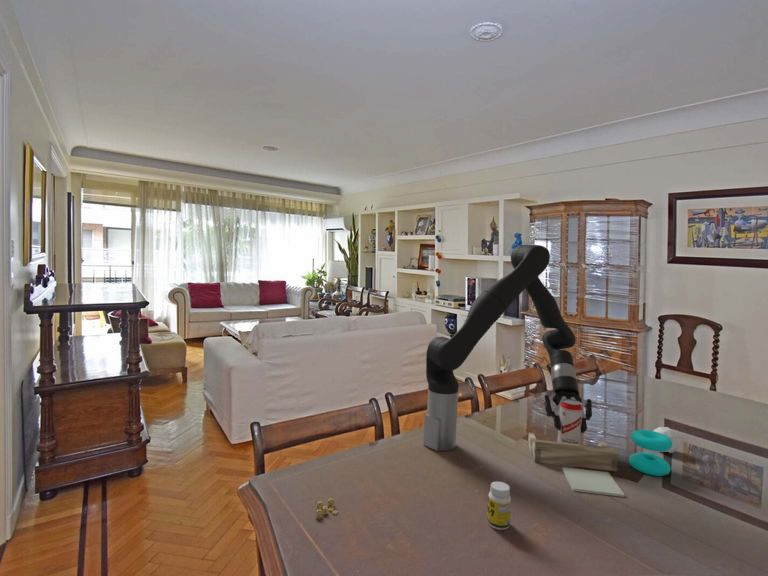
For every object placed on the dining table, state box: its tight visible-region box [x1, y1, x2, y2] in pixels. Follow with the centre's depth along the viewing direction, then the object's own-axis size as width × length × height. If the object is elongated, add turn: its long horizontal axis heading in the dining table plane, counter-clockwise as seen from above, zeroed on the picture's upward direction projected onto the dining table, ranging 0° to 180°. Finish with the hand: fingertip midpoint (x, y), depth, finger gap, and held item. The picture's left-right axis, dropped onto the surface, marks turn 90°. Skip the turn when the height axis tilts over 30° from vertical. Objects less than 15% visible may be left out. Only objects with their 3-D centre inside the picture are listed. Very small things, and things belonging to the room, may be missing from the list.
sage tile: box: [561, 466, 626, 498], centre depth 113 cm, size 12×12×1 cm
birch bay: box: [527, 432, 619, 472], centre depth 128 cm, size 12×22×6 cm, turn 80°
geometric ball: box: [652, 426, 681, 454], centre depth 135 cm, size 8×8×8 cm
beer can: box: [557, 399, 583, 444], centre depth 129 cm, size 6×6×16 cm
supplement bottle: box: [486, 481, 512, 531], centre depth 93 cm, size 5×5×8 cm
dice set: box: [315, 498, 339, 520], centre depth 95 cm, size 5×5×2 cm
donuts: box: [628, 429, 672, 477], centre depth 122 cm, size 10×10×10 cm
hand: (571, 430), depth 127 cm, fingers closed on beer can, 6 cm apart
